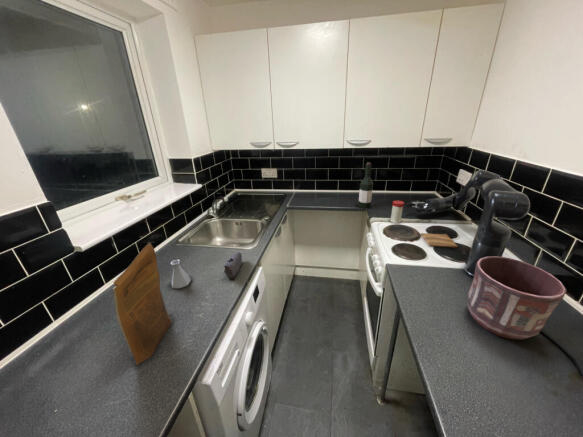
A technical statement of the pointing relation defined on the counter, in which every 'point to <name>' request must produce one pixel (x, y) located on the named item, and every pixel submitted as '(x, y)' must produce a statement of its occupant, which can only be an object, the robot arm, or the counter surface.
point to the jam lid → (398, 203)
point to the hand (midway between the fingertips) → (411, 208)
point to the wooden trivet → (439, 240)
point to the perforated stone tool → (233, 265)
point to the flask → (179, 275)
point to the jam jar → (396, 214)
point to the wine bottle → (366, 189)
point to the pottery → (512, 297)
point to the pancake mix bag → (141, 305)
